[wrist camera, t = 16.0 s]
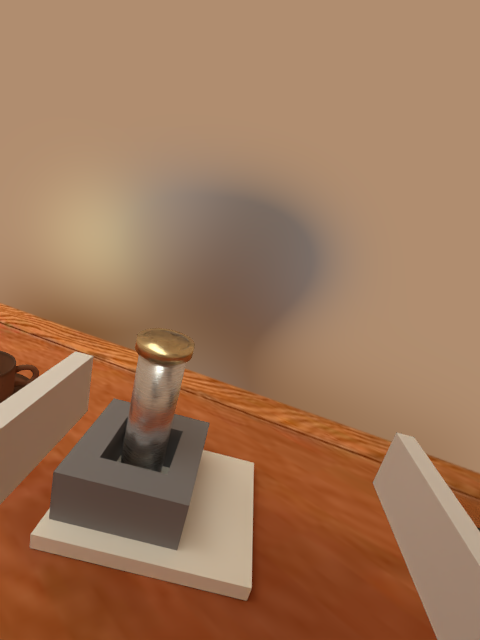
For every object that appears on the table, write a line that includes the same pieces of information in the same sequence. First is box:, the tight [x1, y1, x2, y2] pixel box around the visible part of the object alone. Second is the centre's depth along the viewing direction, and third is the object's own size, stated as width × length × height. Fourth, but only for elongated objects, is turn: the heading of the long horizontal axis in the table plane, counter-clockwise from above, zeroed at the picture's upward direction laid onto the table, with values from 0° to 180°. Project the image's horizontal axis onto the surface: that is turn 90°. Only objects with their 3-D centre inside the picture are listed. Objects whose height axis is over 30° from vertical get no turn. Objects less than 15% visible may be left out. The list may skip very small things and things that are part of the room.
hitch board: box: [30, 399, 254, 601], centre depth 31 cm, size 18×14×6 cm
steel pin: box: [120, 328, 195, 473], centre depth 29 cm, size 5×5×16 cm
